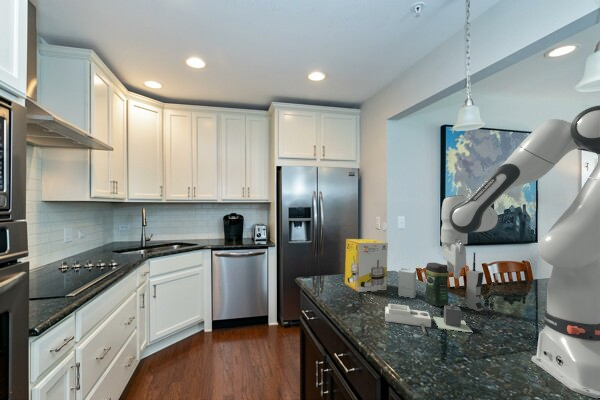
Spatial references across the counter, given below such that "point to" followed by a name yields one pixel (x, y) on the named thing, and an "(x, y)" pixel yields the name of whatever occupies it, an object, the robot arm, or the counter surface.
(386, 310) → the power strip
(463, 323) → the mat
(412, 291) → the supplement box
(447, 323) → the block
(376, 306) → the counter surface
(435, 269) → the coffee jar
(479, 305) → the vintage mobile phone
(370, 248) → the packaging box
